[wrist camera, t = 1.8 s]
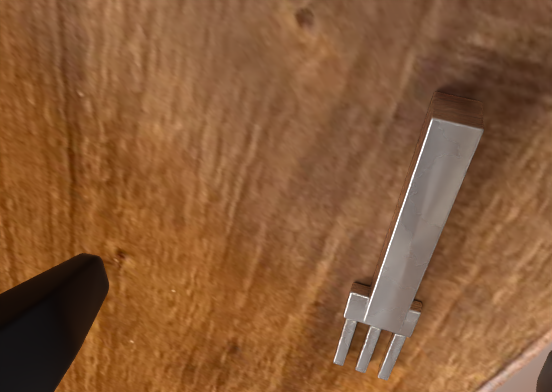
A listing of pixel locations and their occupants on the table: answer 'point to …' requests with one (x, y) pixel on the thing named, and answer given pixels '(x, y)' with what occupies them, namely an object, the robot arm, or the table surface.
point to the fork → (414, 230)
